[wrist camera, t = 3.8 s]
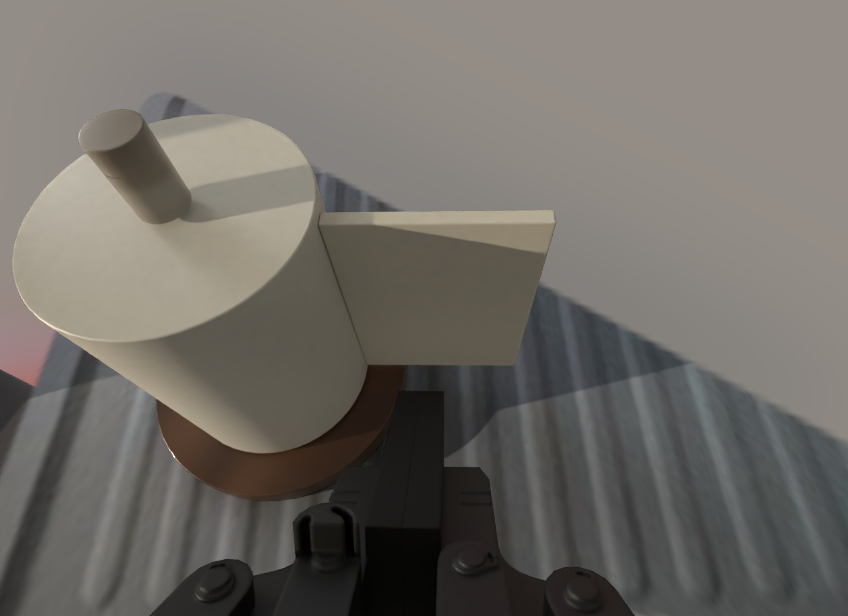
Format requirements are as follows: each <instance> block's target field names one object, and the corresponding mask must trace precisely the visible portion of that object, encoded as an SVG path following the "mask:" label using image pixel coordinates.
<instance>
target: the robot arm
mask: <svg viewBox="0 0 848 616" xmlns="http://www.w3.org/2000/svg"><path fill="white" fill-rule="evenodd" d="M293 532H294V543H295V554H296V559H295V561H294V563H293V564H291V565H289V566H287V567H285V568H282V569H279V570H276V571H272V572H268V573H264V574H259V575H255V576H253V573H252V571H251V569H250V567H249V566H248V564H246V563H244V562H242V561H240V560H233V559H224V560H220V561H215V562H211V563H209V564H207V565H205V566H203V567H201V568H199V569H197V570H196V571H195V572H194V573H192V574H191V575H190V576H189V577H187V578H186V579H185V580H184V581H183V582H182V583H181V584H180V585H179V586H178V587H177V588H176V589H175V590H174V591H173V592H172V593H171V595H170V596H169V597H168V598H167V599H166V600H165V601H164V602H163V603H162V604H161V605H160V606H159V607H158V608H157V609H156V610H155V611H154V612H153V613H152V614H151V615H150V616H635V615H634V614H633V613H632V611H631V610H630V608H629V607H628V606H627V604H626V603H625V601H624V600H623V599H622V597H621V596H620V594H619V593H618V592H617V590H616V589H615V588H614V587H613V586H612V585H611V584H610V583H609V582H608V581H607V580H606V579H605V578H604V577H602V576H600V575H599V574H597V573H595V572H593V571H591V570H587V569H584V568H580V567H564V568H561V569H558V570H556V571H554V572H553V573H552V574H551V575H550V576H549V577H548V578H547V580H546V581H544V580H541V579H537V578H534V577H531V576H528V575H526V574H523V573H521V572H519V571H517V570H516V569H514V568H513V567H511V566H510V565H509V564H508V563H507V562H506V561H505V560H504V558H503V557H502V555H501V553H500V550H499V547H498V540H497V533H496V526H495V519H494V511H493V506H492V497H491V490H490V483H489V478H488V477H487V476H486V475H485V473H484V472H483V471H482V470H481V469H480V467H444V391H398V394H397V398H396V402H395V406H394V410H393V414H392V418H391V422H390V426H389V430H388V435H387V439H386V443H385V447H384V451H383V455H382V459H381V463H380V467H349V468H348V469H347V470H345V471H344V472H343V473H342V474H341V475H340V476H339V477H338V479H337V481H336V484H335V486H334V489H333V493H332V494H331V497H330V499H329V503H321V504H318V505H315V506H312V507H309V508H308V509H306V510H305V511H303V512H302V513H300V514H299V515H298V516H297V518H296V519H295V520H294V522H293Z"/></svg>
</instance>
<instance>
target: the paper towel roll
mask: <svg viewBox="0 0 848 616" xmlns="http://www.w3.org/2000/svg"><path fill="white" fill-rule="evenodd" d="M148 126H149V128H150V129H151V131H152V132H153V134H154V136H155V137H156V139H157V140H158V142H159V143H160V145H161V147H162V148H163V150H164V151H165V153H166V154H167V156H168V158H169V159H170V161H171V162H172V164H173V165H174V167H175V169H176V170H177V172H178V173H179V175H180V176H181V178H182V180H183V181H184V183H185V184H186V186H187V187H188V189H189V191H190V192H191V196H192V200H191V204H190V206H189V208H188V209H187V211H186V212H185V213H184V214H183V215H181V216H180V217H179V218H177V219H175V220H173V221H171V222H168V223H164V224H149V223H146V222H144V221H142V220H141V219H140V218H139V217H138V216H137V215H136V213H135V212H134V211H133V210H132V208H131V207H130V206H129V205H128V204H127V202H126V201H125V200H124V199H123V197H122V196H121V195H120V194H119V193H118V191H117V190H116V189H115V188H114V186H113V185H112V184H111V183H110V182H109V180H108V179H107V178H106V177H105V175H104V174H103V173H102V172H101V171H100V169H99V168H98V167H97V166H96V164H95V163H94V162H93V161H92V160H91V158H90V157H89V156H88V155H87V153H86V154H84V155H83V156H81V157H80V158H79V159H77V160H76V161H75V162H73V163H72V164H71V165H69V166H68V167H67V168H66V169H64V170H63V171H62V172H61V173H60V174H59V175H58V176H57V177H56V178H55V179H54V180H52V182H51V183H50V184H49V185H48V186H47V187H46V188H45V190H43V191H42V193H41V194H40V195H39V196H38V198H37V199H36V200H35V202H34V203H33V205H32V206H31V208H30V209H29V211H28V213H27V214H26V216H25V218H24V220H23V222H22V224H21V227H20V229H19V231H18V234H17V237H16V241H15V245H14V250H13V262H12V269H13V275H14V281H15V284H16V287H17V289H18V292H19V294H20V297H21V298H22V300H23V301H24V303H25V304H26V306H27V307H28V308H29V310H30V311H31V312H32V313H33V314H34V315H35V316H36V317H38V318H39V319H40V320H41V321H42V322H44V323H45V324H47V325H48V326H50V327H51V328H53V329H54V330H56V331H57V332H59V333H60V334H62V335H63V336H64V337H66V338H67V339H69V340H70V341H72V342H73V343H75V344H76V345H78V346H79V347H81V348H82V349H84V350H85V351H87V352H88V353H90V354H91V355H93V356H94V357H96V358H97V359H99V360H100V361H102V362H103V363H104V364H106V365H107V366H109V367H110V368H112V369H113V370H115V371H116V372H118V373H119V374H121V375H122V376H124V377H125V378H127V379H128V380H130V381H131V382H133V383H134V384H136V385H137V386H139V387H140V388H141V389H143V390H144V391H146V392H147V393H149V394H150V395H152V396H153V397H155V398H156V399H158V400H159V401H161V402H162V403H164V404H165V405H167V406H168V407H170V408H171V409H173V410H174V411H176V412H177V413H178V414H180V415H181V416H183V417H184V418H186V419H187V420H189V421H190V422H192V423H193V424H195V425H196V426H198V427H199V428H201V429H202V430H204V431H205V432H207V433H208V434H210V435H211V436H213V437H214V438H216V439H217V440H219V441H220V442H222V443H223V444H225V445H227V446H230V447H232V448H234V449H238V450H241V451H245V452H252V453H275V452H281V451H286V450H290V449H293V448H297V447H299V446H302V445H304V444H307V443H309V442H311V441H313V440H314V439H316V438H318V437H320V436H321V435H323V434H324V433H325V432H327V431H328V430H330V429H331V428H332V427H333V426H334V425H335V424H337V423H338V422H339V421H340V420H341V419H342V418H343V417H344V415H345V414H346V413H347V412H348V411H349V409H350V408H351V406H352V405H353V403H354V402H355V400H356V399H357V397H358V395H359V393H360V391H361V389H362V386H363V383H364V381H365V378H366V373H367V368H368V365H515V362H516V359H517V355H518V352H519V348H520V345H521V341H522V338H523V335H524V331H525V328H526V324H527V321H528V318H529V314H530V311H531V307H532V304H533V300H534V297H535V294H536V290H537V287H538V283H539V280H540V277H541V273H542V270H543V266H544V263H545V259H546V256H547V253H548V249H549V246H550V242H551V239H552V236H553V232H554V228H555V225H556V218H555V212H554V211H553V210H527V211H526V210H522V211H429V212H428V211H426V212H424V211H423V212H326V209H325V206H324V203H323V200H322V197H321V194H320V190H319V187H318V184H317V181H316V178H315V175H314V172H313V169H312V167H311V165H310V162H309V160H308V159H307V157H306V156H305V154H304V153H303V151H302V150H301V149H300V148H299V147H298V146H297V145H296V144H295V143H294V142H293V141H292V140H291V139H290V138H288V137H287V136H286V135H284V134H283V133H282V132H280V131H278V130H276V129H274V128H273V127H271V126H269V125H266V124H263V123H261V122H258V121H255V120H251V119H247V118H243V117H237V116H230V115H214V114H209V115H192V116H183V117H176V118H172V119H167V120H162V121H158V122H155V123H151V124H148Z"/></svg>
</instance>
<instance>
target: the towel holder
mask: <svg viewBox="0 0 848 616" xmlns="http://www.w3.org/2000/svg"><path fill="white" fill-rule="evenodd" d="M78 141H79V144H80V146H81V147H82V149H83V150H84V151H85V152H86V153H87V155H88V156H89V157H90V158H91V160H92V161H93V162H94V163H95V164H96V166H97V167H98V168H99V169H100V171H101V172H102V173H103V174H104V175H105V177H106V178H107V179H108V180H109V182H110V183H111V184H112V185H113V186H114V188H115V189H116V190H117V191H118V193H119V194H120V195H121V196H122V197H123V199H124V200H125V201H126V202H127V204H128V205H129V206H130V207H131V208H132V210H133V211H134V212H135V213H136V215H137V216H138V217H139V218H140V219H141V220H142V221H144V222H146V223H149V224H164V223H168V222H171V221H173V220H175V219H177V218H179V217H180V216H181V215H183V214H184V213H185V212H186V211H187V209H188V208H189V206H190V204H191V200H192V196H191V192H190V191H189V189H188V187H187V186H186V184H185V183H184V181H183V180H182V178H181V176H180V175H179V173H178V172H177V170H176V169H175V167H174V165H173V164H172V162H171V161H170V159H169V158H168V156H167V154H166V153H165V151H164V150H163V148H162V147H161V145H160V143H159V142H158V140H157V139H156V137H155V136H154V134H153V132H152V131H151V129H150V128H149V126H148V125H147V123H146V121H145V120H144V118H143V117H142V116H141V115H140V114H139V113H137V112H135V111H132V110H127V109H120V110H112V111H108V112H105V113H102V114H100V115H98V116H96V117H94V118H93V119H91V120H90V121H89V122H87V123H86V124H85V125H84V126H83V127H82V129H81V131H80V133H79V135H78ZM405 384H406V365H368V368H367V373H366V378H365V381H364V383H363V386H362V389H361V391H360V393H359V395H358V397H357V399H356V400H355V402H354V403H353V405H352V406H351V408H350V409H349V411H348V412H347V413H346V414H345V415H344V417H343V418H342V419H341V420H340V421H339V422H338V423H337V424H335V425H334V426H333V427H332V428H331V429H330V430H328V431H327V432H325V433H324V434H323V435H321V436H320V437H318V438H316V439H314V440H313V441H311V442H309V443H307V444H304V445H302V446H299V447H297V448H293V449H290V450H286V451H281V452H275V453H252V452H245V451H241V450H238V449H234V448H232V447H230V446H227V445H225V444H223V443H222V442H220V441H219V440H217V439H216V438H214V437H213V436H211V435H210V434H208V433H207V432H205V431H204V430H202V429H201V428H199V427H198V426H196V425H195V424H193V423H192V422H190V421H189V420H187V419H186V418H184V417H183V416H181V415H180V414H178V413H177V412H176V411H174V410H173V409H171V408H170V407H168V406H167V405H165V404H164V403H162V402H161V401H159V400H158V399H156V412H157V419H158V424H159V427H160V431H161V434H162V437H163V439H164V441H165V443H166V445H167V447H168V449H169V451H170V452H171V453H172V455H173V456H174V458H175V459H176V460H177V462H178V463H179V464H180V465H181V466H182V467H183V468H184V469H185V470H186V471H187V472H188V473H190V474H191V475H192V476H194V477H195V478H197V479H198V480H200V481H201V482H203V483H205V484H207V485H209V486H211V487H213V488H215V489H218V490H220V491H222V492H224V493H226V494H229V495H232V496H236V497H239V498H243V499H249V500H256V501H280V500H287V499H293V498H298V497H302V496H305V495H308V494H312V493H315V492H317V491H319V490H322V489H324V488H326V487H328V486H331V485H332V484H334V483H336V481H337V479H338V477H339V476H340V475H341V474H342V473H343V472H344V471H345V470H347V469H348V468H349V467H359V466H360V465H361V464H362V463H363V462H364V461H365V460H366V459H367V458H368V457H369V456H370V455H371V454H372V453H373V452H374V451H375V450H376V449H377V447H378V446H379V445H380V444H381V442H382V441H383V440H384V438H385V437H386V435H387V433H388V430H389V426H390V422H391V418H392V414H393V410H394V406H395V402H396V398H397V394H398V391H405Z"/></svg>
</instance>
